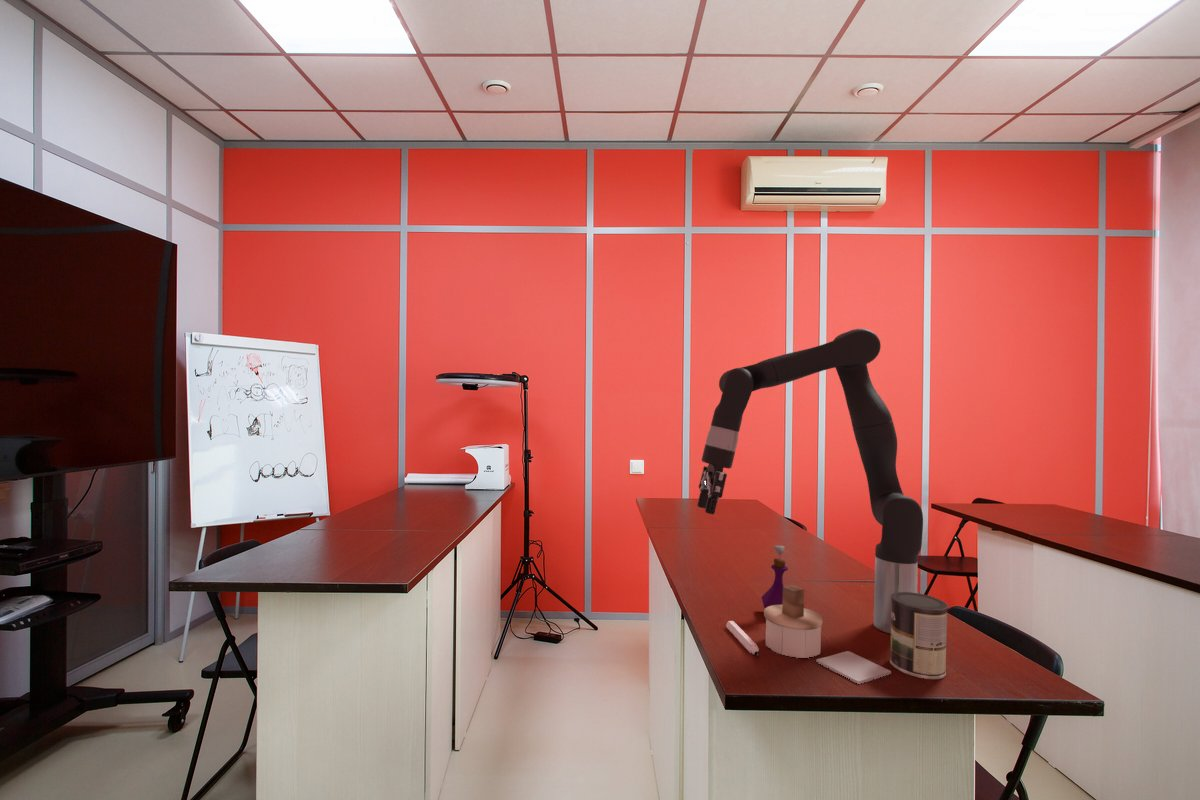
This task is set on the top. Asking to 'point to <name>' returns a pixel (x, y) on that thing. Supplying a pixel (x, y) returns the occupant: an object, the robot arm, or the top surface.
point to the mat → (853, 667)
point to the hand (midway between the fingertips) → (705, 510)
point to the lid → (793, 611)
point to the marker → (742, 637)
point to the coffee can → (918, 635)
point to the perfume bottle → (776, 581)
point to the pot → (793, 641)
